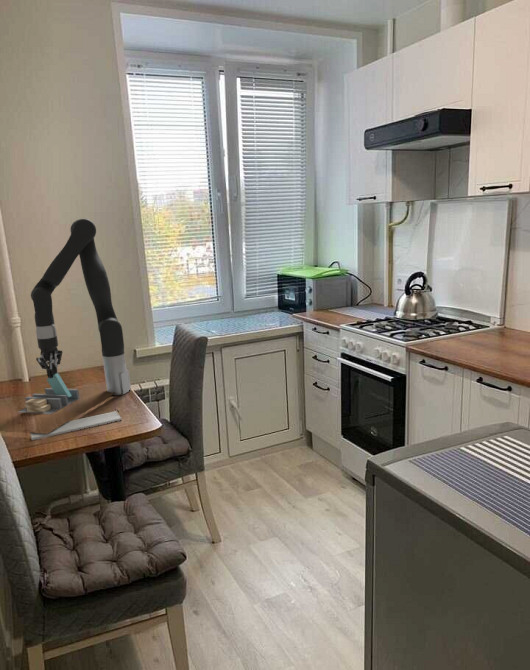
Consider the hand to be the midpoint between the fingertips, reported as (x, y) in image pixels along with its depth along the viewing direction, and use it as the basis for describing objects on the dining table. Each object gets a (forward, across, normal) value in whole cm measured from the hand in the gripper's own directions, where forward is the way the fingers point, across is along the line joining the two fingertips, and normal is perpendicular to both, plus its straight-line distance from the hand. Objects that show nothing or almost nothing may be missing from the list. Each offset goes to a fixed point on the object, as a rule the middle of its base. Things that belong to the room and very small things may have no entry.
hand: (52, 376), depth 209 cm
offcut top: (+9, -11, +1) cm, 14 cm away
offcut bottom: (+11, -11, 0) cm, 15 cm away
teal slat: (+9, 0, -5) cm, 11 cm away
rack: (+12, -4, 0) cm, 13 cm away
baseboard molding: (+13, -19, -23) cm, 32 cm away
